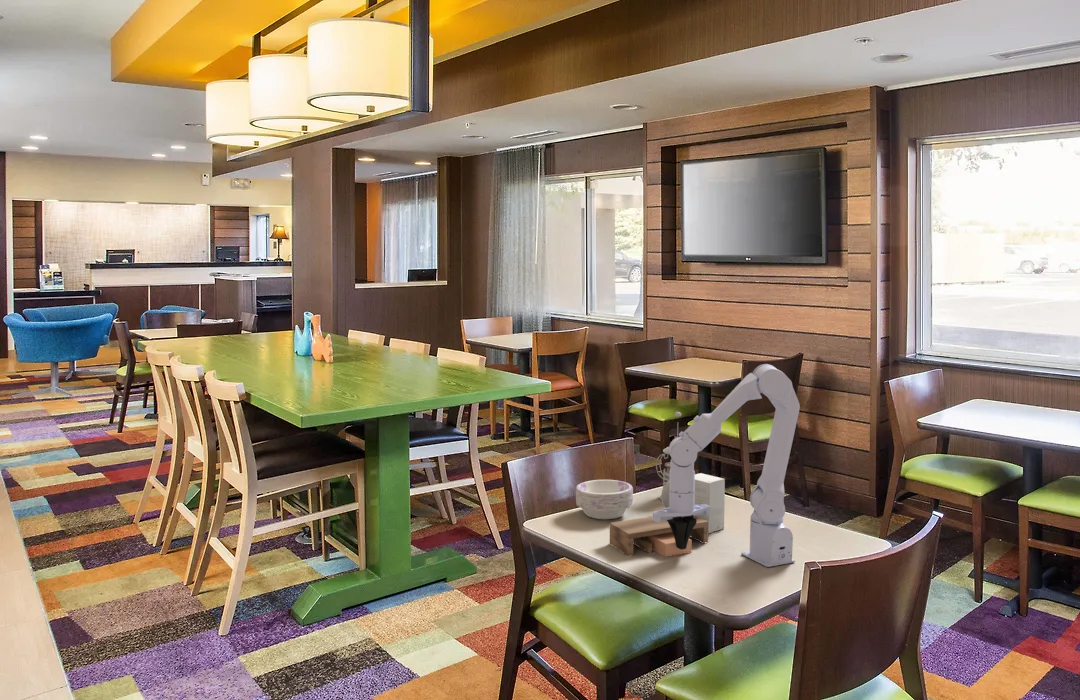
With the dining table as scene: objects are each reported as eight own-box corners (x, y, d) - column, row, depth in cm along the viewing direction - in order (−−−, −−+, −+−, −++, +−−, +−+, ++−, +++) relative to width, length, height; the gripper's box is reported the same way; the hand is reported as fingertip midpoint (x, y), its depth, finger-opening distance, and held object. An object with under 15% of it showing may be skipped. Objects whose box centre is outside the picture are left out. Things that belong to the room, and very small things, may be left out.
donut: (664, 516, 226) (664, 479, 225) (658, 512, 229) (659, 476, 228) (698, 513, 229) (699, 477, 228) (693, 509, 232) (693, 473, 231)
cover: (691, 552, 199) (691, 539, 198) (665, 556, 196) (665, 544, 195) (672, 541, 206) (672, 529, 206) (647, 545, 203) (647, 533, 203)
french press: (681, 505, 236) (682, 416, 233) (647, 497, 244) (648, 411, 241) (700, 498, 243) (702, 411, 240) (667, 490, 251) (668, 406, 248)
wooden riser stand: (707, 542, 205) (708, 521, 205) (628, 555, 196) (628, 533, 196) (686, 531, 213) (686, 511, 213) (609, 543, 204) (609, 522, 204)
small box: (724, 528, 216) (725, 478, 214) (708, 534, 212) (709, 482, 210) (699, 521, 222) (700, 472, 221) (683, 526, 218) (684, 476, 217)
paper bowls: (568, 509, 233) (568, 480, 232) (620, 504, 237) (621, 476, 236) (586, 525, 218) (586, 495, 217) (641, 521, 222) (641, 491, 221)
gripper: (698, 482, 201) (697, 538, 203) (645, 489, 195) (645, 547, 197) (716, 489, 195) (715, 547, 196) (662, 497, 189) (661, 556, 190)
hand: (681, 548), depth 196 cm, fingers closed, pressing on cover
